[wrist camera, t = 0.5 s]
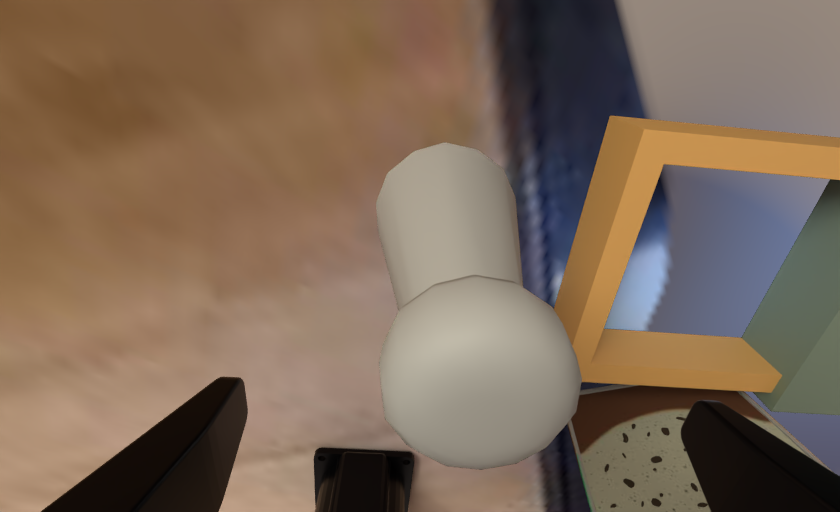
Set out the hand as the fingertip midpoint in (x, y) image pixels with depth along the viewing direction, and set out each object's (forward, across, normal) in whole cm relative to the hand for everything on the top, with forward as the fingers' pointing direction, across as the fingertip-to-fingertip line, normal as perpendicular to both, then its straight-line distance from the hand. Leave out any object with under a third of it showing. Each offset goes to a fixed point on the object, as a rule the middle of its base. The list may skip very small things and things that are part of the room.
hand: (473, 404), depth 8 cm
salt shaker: (+13, 0, 0) cm, 13 cm away
